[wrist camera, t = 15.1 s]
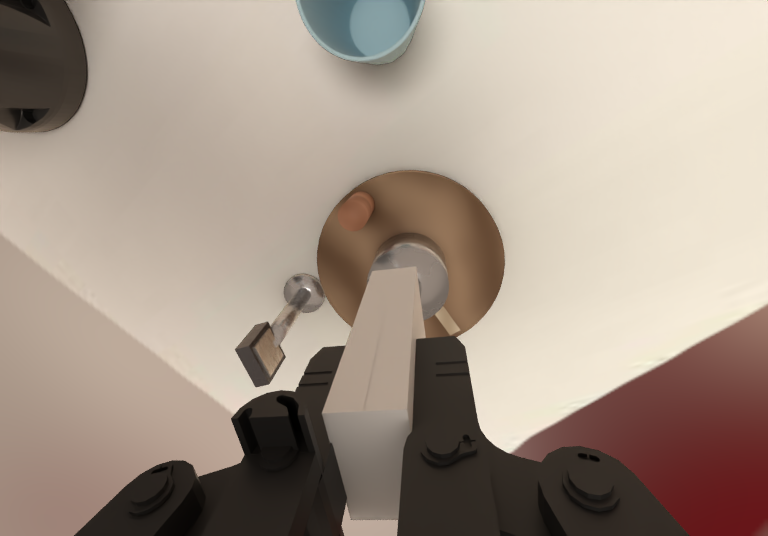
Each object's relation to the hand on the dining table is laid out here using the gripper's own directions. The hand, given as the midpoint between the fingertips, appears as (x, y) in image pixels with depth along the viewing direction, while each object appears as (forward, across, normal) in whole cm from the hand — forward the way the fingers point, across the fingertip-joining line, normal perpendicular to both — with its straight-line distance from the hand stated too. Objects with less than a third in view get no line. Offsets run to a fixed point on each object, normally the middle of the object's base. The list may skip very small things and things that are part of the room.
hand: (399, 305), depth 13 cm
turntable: (+24, -2, -7) cm, 25 cm away
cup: (+24, -1, +13) cm, 28 cm away
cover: (+22, -2, -7) cm, 23 cm away
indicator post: (+24, -13, -10) cm, 29 cm away
